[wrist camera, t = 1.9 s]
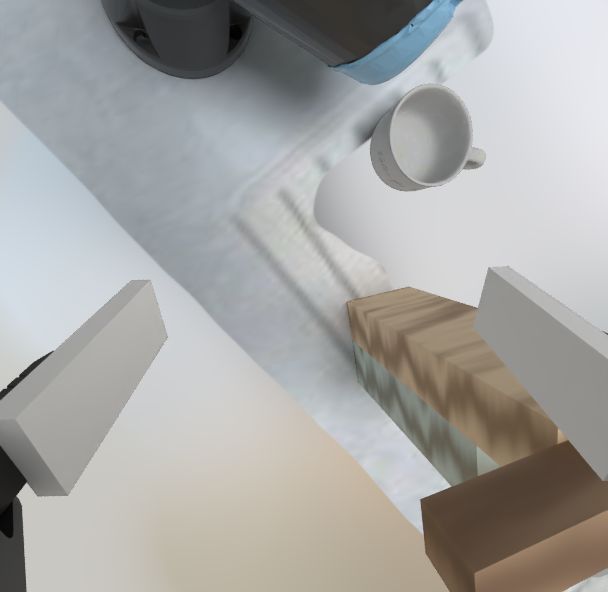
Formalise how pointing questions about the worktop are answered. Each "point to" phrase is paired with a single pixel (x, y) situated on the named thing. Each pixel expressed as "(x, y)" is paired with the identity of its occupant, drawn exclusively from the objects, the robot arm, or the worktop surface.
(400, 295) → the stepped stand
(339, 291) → the worktop surface
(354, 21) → the robot arm
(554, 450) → the rail
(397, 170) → the teacup
